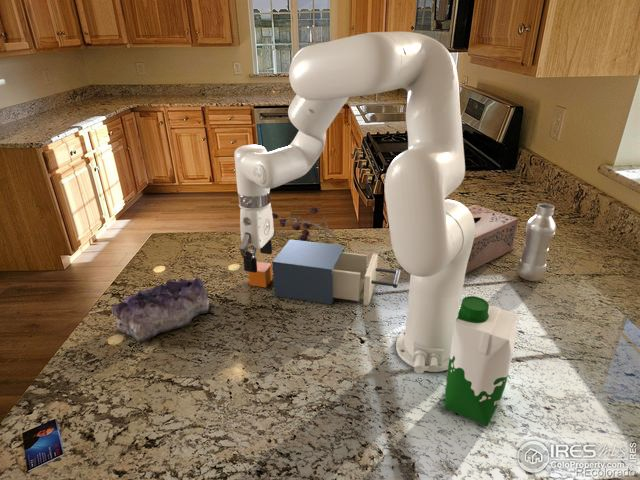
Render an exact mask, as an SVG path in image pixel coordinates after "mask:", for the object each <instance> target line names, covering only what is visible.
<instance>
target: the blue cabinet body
mask: <svg viewBox="0 0 640 480" xmlns="http://www.w3.org/2000/svg"><path fill="white" fill-rule="evenodd" d="M342 252H345V245H343V244H342V245H341V244H333V243H324V242H317V241H308V240H306V241H302V240H300V239H299V240H298V239H289V240H288V241H287V243H286V244H285V245H284V246H283V247H282V249H281V250H280V251H279V253H277V255H276V256H275V257H274V259H272V261H271V264H272V277H273V279H272V281H273V293H274V294H273V295H274V297H280V298H288V299H291V300H300V301H305V302H306V301H307V302H313V303H319V304H325V305H326V304H327V305H331V306H332V305H333V303H334V301H335V299H336V298H334V297H333V269H334V267H335V266H336V264H337V262H338V260H339V258H340V256H341V254H342Z"/></svg>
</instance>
